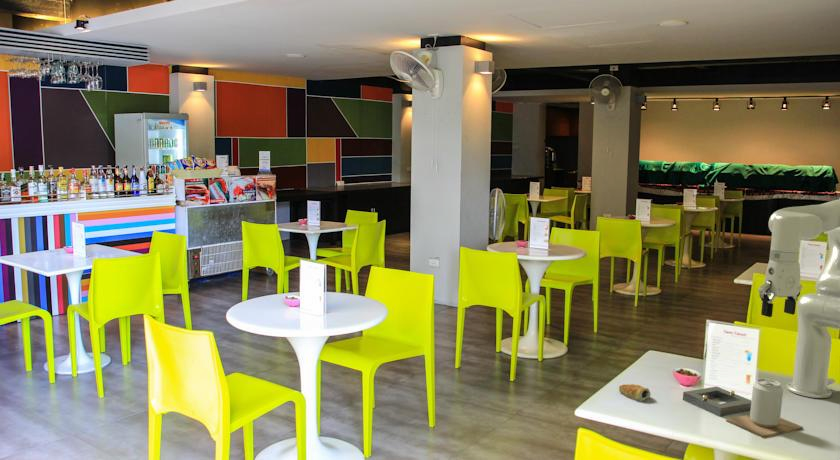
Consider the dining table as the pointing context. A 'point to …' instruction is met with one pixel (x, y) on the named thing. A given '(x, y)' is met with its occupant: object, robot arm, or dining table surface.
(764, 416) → the can
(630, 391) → the pastry
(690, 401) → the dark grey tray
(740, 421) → the mat
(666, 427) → the dining table surface
